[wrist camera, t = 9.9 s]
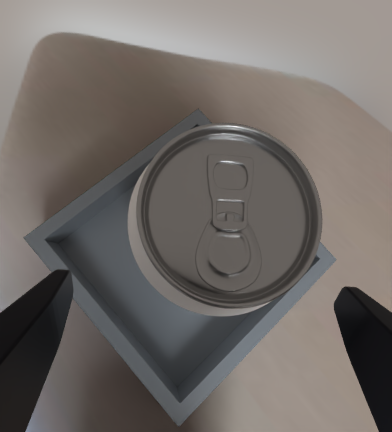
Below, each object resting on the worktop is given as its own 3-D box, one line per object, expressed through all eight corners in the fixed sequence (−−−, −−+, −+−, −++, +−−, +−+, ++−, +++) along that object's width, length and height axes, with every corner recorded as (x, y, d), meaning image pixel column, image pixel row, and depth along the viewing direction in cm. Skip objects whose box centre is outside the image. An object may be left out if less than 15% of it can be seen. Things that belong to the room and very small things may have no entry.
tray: (175, 402, 19) (178, 427, 16) (44, 243, 20) (23, 237, 17) (311, 262, 22) (336, 259, 19) (192, 131, 23) (198, 108, 20)
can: (138, 295, 19) (108, 323, 7) (145, 200, 20) (130, 99, 9) (234, 298, 20) (344, 327, 8) (234, 206, 21) (329, 120, 10)
